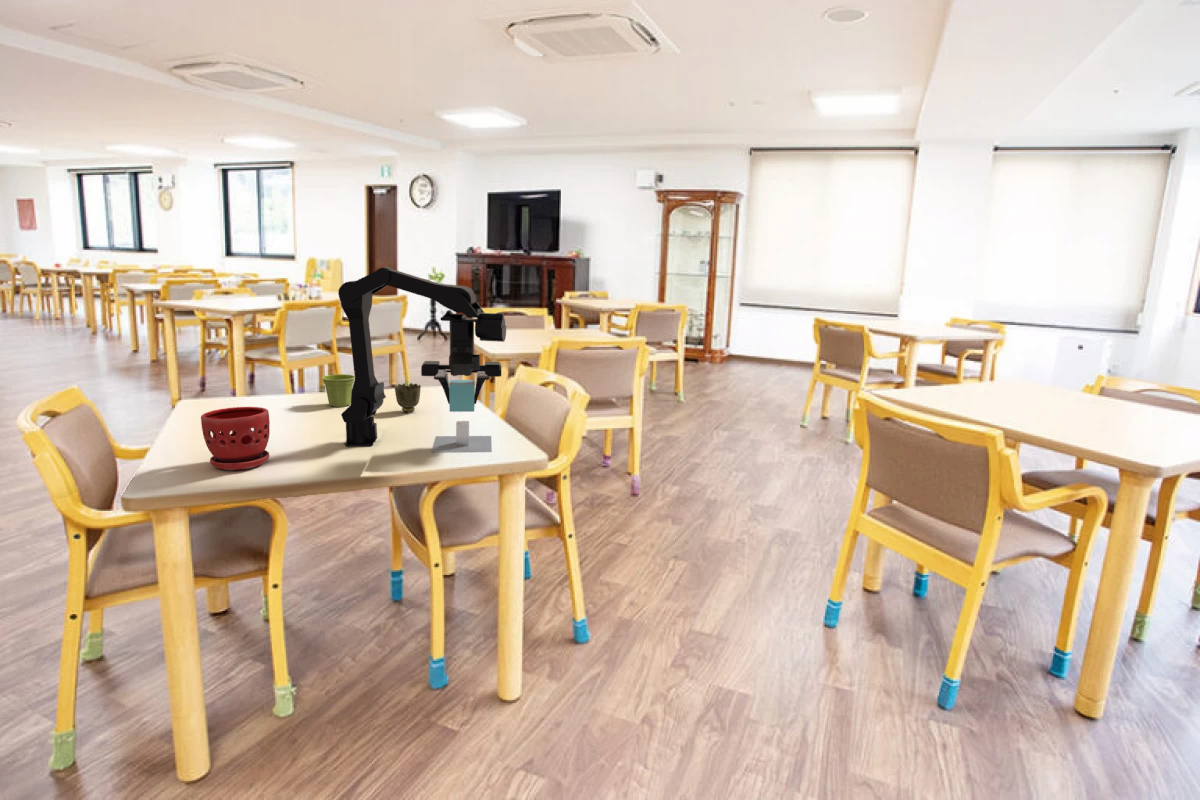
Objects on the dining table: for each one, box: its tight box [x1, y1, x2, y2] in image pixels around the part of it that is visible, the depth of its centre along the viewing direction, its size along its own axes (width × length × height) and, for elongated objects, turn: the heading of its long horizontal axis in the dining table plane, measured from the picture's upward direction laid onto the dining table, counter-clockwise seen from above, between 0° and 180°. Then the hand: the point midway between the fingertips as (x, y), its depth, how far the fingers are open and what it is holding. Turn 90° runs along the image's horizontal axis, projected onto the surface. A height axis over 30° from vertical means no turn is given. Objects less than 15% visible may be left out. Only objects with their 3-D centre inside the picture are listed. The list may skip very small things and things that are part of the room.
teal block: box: [448, 379, 476, 413], centre depth 167 cm, size 6×6×7 cm
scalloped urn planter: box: [393, 382, 422, 414], centre depth 202 cm, size 8×7×8 cm
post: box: [455, 420, 470, 446], centre depth 169 cm, size 3×3×5 cm
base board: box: [431, 435, 493, 454], centre depth 170 cm, size 14×14×1 cm
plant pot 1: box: [200, 406, 271, 471], centre depth 150 cm, size 13×13×12 cm
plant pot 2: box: [321, 373, 355, 408], centre depth 207 cm, size 9×9×9 cm
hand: (462, 403), depth 167 cm, fingers closed on teal block, 6 cm apart
